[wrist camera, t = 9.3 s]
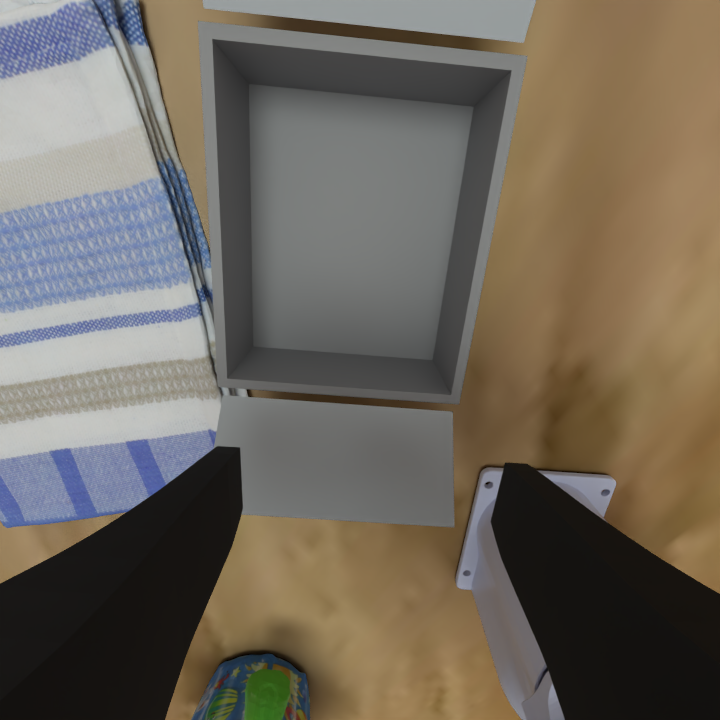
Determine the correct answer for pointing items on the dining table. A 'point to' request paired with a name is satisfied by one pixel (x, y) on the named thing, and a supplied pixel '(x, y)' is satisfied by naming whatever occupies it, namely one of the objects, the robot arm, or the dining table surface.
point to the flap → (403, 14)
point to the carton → (350, 207)
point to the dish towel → (95, 271)
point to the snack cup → (255, 691)
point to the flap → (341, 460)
